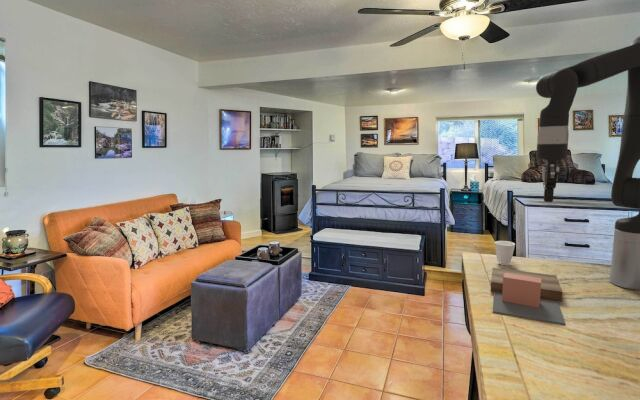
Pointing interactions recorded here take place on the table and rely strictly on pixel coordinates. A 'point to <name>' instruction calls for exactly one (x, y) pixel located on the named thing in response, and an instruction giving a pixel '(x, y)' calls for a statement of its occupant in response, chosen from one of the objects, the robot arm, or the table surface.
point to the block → (521, 289)
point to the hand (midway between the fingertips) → (548, 201)
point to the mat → (529, 310)
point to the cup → (504, 251)
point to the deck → (548, 282)
